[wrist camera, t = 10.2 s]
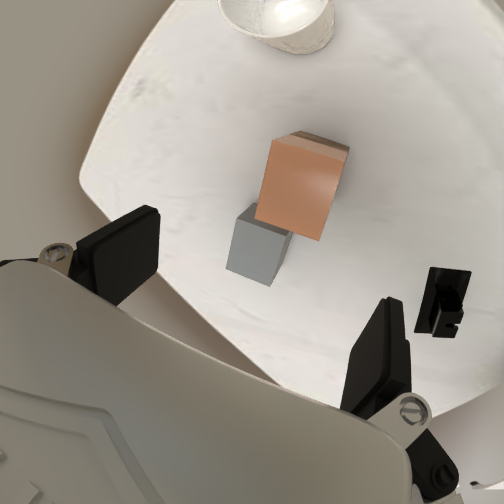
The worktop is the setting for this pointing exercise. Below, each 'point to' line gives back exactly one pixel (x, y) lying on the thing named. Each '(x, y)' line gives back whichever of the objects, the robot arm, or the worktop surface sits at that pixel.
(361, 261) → the worktop surface
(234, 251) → the slate grey block
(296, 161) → the terracotta block
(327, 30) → the white cup
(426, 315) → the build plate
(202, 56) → the worktop surface
